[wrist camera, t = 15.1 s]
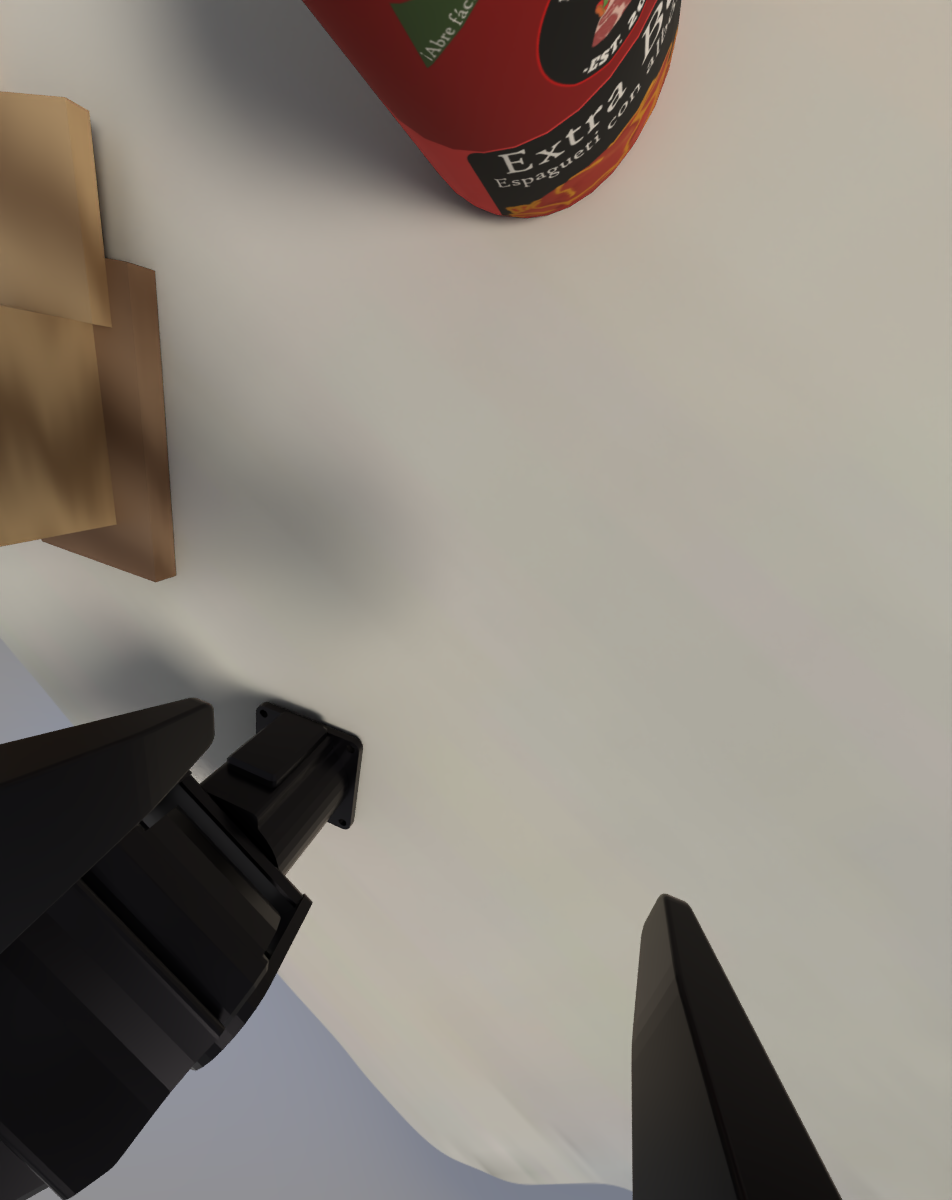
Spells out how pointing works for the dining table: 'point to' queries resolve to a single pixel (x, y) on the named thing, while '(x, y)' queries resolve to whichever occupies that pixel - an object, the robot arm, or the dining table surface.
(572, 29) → the canned food
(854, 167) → the dining table surface
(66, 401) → the stepped wooden block
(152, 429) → the board
